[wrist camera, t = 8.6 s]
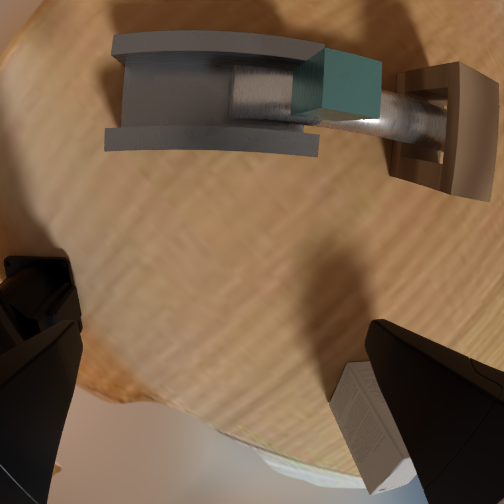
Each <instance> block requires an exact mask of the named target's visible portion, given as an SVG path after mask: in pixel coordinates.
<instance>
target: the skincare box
mask: <svg viewBox="0 0 504 504" xmlns="http://www.w3.org/2000/svg"><path fill="white" fill-rule="evenodd" d="M329 406H330V408H331V410H332V412H333V415H334V417H335V419H336V421H337V424H338V426H339V428H340V430H341V432H342V434H343V437H344V439H345V441H346V443H347V445H348V448H349V450H350V452H351V454H352V457H353V459H354V461H355V463H356V465H357V468H358V470H359V472H360V474H361V477H362V479H363V481H364V483H365V486H366V488H367V490H368V492H369V494H370V495H374V494H377V493H381V492H384V491H388V490H391V489H394V488H397V487H400V486H403V485H405V484H408V483H409V482H410V481H411V480H412V478H413V477H414V476H415V475H416V474H417V473H416V470H415V468H414V465H413V463H412V461H411V458H410V456H409V453H408V451H407V449H406V446H405V444H404V442H403V439H402V437H401V435H400V433H399V430H398V428H397V426H396V423H395V421H394V419H393V417H392V415H391V412H390V410H389V408H388V406H387V404H386V401H385V399H384V397H383V395H382V393H381V391H380V388H379V386H378V383H377V381H376V378H375V375H374V372H373V369H372V366H371V363H370V361H365V362H348V363H346V366H345V369H344V371H343V373H342V376H341V378H340V381H339V383H338V385H337V388H336V390H335V392H334V394H333V397H332V399H331V401H330V403H329Z"/></svg>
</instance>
